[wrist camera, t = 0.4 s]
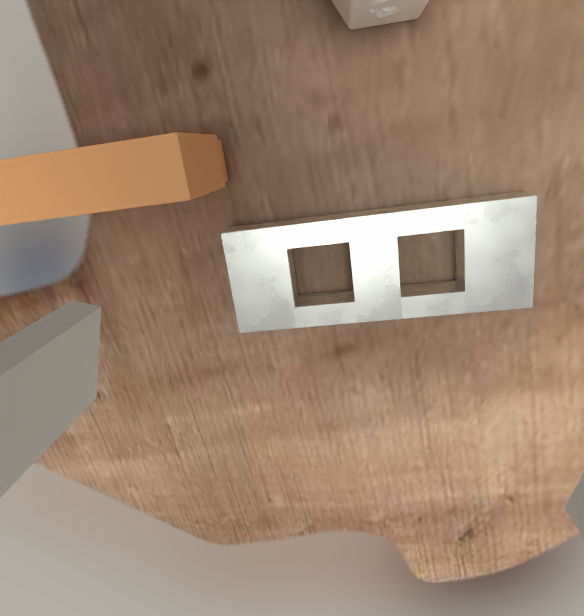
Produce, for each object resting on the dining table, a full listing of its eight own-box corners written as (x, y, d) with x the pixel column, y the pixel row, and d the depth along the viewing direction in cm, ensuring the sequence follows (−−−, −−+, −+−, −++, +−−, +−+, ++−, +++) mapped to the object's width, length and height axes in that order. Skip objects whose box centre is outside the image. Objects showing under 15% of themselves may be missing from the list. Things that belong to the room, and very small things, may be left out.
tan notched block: (80, 158, 36) (-27, 164, 25) (226, 135, 34) (176, 132, 24) (92, 202, 37) (-5, 226, 26) (235, 183, 35) (190, 200, 25)
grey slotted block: (230, 226, 36) (220, 233, 33) (520, 190, 33) (537, 195, 30) (247, 319, 39) (239, 332, 36) (517, 294, 36) (532, 307, 33)
